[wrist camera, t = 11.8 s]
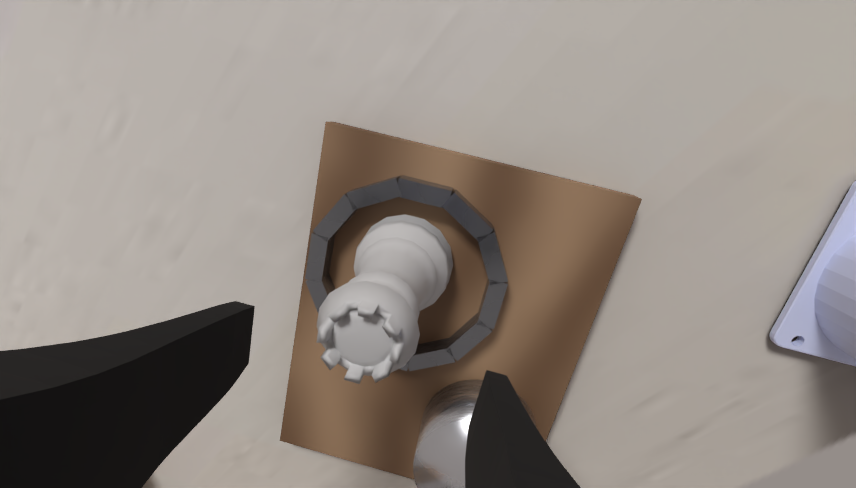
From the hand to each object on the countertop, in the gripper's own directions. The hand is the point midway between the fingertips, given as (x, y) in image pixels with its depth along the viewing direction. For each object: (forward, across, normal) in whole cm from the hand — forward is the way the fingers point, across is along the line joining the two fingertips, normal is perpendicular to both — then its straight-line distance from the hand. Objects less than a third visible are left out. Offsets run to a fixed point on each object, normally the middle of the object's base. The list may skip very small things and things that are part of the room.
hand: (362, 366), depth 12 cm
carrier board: (+9, -2, +3) cm, 9 cm away
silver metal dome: (+8, -6, +8) cm, 12 cm away
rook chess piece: (+8, 0, -1) cm, 8 cm away
